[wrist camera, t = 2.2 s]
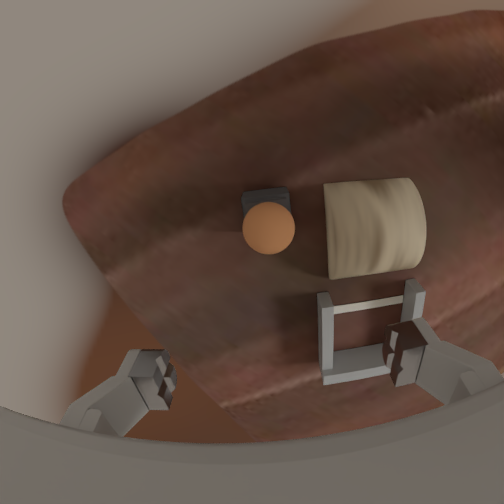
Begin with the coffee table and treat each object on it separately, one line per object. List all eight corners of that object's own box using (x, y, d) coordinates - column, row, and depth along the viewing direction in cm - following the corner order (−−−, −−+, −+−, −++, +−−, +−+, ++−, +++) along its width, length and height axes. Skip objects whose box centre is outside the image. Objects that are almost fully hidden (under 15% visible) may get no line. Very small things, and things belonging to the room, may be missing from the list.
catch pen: (414, 278, 31) (429, 296, 27) (403, 346, 35) (414, 366, 31) (317, 293, 32) (323, 313, 28) (318, 362, 35) (323, 385, 32)
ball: (289, 194, 24) (294, 206, 21) (294, 240, 26) (299, 259, 22) (240, 200, 25) (236, 213, 21) (247, 245, 26) (245, 265, 22)
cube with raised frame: (286, 186, 28) (289, 194, 24) (290, 227, 29) (294, 241, 26) (242, 192, 28) (240, 201, 24) (249, 232, 29) (247, 247, 26)
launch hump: (386, 168, 32) (427, 184, 23) (386, 247, 36) (421, 284, 27) (312, 173, 33) (332, 191, 24) (318, 256, 37) (336, 298, 27)
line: (403, 295, 32) (403, 295, 32) (402, 302, 32) (402, 302, 32) (329, 306, 32) (329, 307, 32) (329, 314, 33) (329, 314, 33)
